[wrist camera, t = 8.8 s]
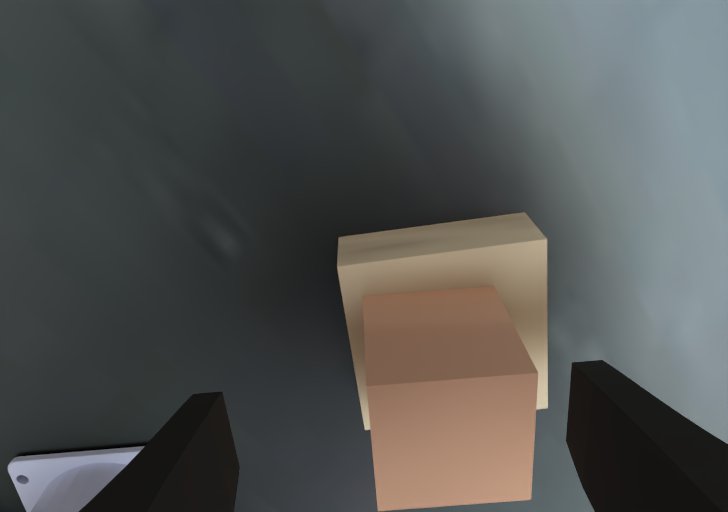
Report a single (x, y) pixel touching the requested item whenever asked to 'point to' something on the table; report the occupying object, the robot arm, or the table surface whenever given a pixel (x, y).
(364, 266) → the maple slab
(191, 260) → the table surface
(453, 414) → the terracotta block
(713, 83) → the table surface
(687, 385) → the table surface
